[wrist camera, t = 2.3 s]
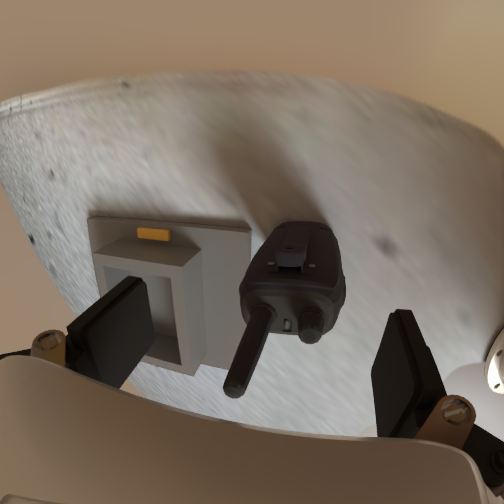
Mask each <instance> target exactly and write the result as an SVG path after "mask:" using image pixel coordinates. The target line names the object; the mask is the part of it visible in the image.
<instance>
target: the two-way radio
mask: <svg viewBox="0 0 504 504" xmlns="http://www.w3.org/2000/svg"><path fill="white" fill-rule="evenodd" d="M239 295H240V307H241V313H242V317H243V319H244V321H245V323H246V324H247V326H246V329H245V331H244V334H243V336H242V338H241V341H240V343H239V346H238V348H237V351H236V353H235V356H234V359H233V361H232V364H231V367H230V369H229V372H228V374H227V377H226V379H225V382H224V385H223V390H224V392H225V394H226V395H227V396H228V397H231V398H239V397H241V396H242V395H244V393H245V391H246V388H247V386H248V384H249V381H250V379H251V377H252V374H253V372H254V370H255V367H256V365H257V362H258V360H259V358H260V355H261V352H262V350H263V347H264V344H265V341H266V339H267V336H268V333H278V334H288V335H299V338H300V340H301V341H302V342H304V343H306V344H314V343H316V342H318V341H319V340H320V339H321V336H322V335H324V334H325V333H327V332H328V331H330V330H331V329H332V328H333V326H334V325H335V323H336V320H337V318H338V315H339V312H340V309H341V307H342V306H343V305H344V301H345V297H346V285H345V276H344V275H343V270H342V263H341V255H340V250H339V246H338V241H337V239H336V237H335V236H334V234H333V233H332V230H331V229H330V228H329V227H327V226H326V225H324V224H321V223H315V222H298V221H296V222H286V223H282V224H281V225H279V226H278V227H276V228H275V230H274V231H273V232H272V233H271V235H270V236H269V237H268V238H267V240H266V241H265V242H264V244H263V245H262V246H261V247H260V249H259V250H258V251H257V253H256V254H255V256H254V257H253V259H252V261H251V263H250V264H249V266H248V269H247V271H246V273H245V276H244V278H243V280H242V282H241V283H240V286H239Z"/></svg>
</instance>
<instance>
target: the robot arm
mask: <svg viewBox="0 0 504 504" xmlns="http://www.w3.org/2000/svg"><path fill="white" fill-rule="evenodd" d="M67 331H68V335H67V336H65V334H64V333H63V332H61V331H60V330H48V331H44V332H42V333H40V334H39V335H38V336H36V338H35V339H34V340H33V343H32V347H31V349H27V350H22V351H17V352H12V353H6V354H2V355H0V504H504V442H503V441H501V440H500V439H498V438H497V437H495V436H493V435H492V434H490V433H489V432H487V431H485V430H484V429H482V428H481V427H479V426H477V425H476V424H474V422H475V418H476V412H475V409H474V407H473V405H472V404H471V403H470V402H469V401H468V400H467V399H465V398H464V397H461V396H459V395H447V394H446V391H445V388H444V385H443V382H442V379H441V376H440V374H439V371H438V368H437V366H436V363H435V361H434V358H433V355H432V353H431V350H430V348H429V347H428V346H426V343H425V341H424V338H423V336H422V333H421V331H420V329H419V326H418V324H417V322H416V319H415V317H414V315H413V313H412V311H411V310H404V309H396V310H395V312H394V313H390V315H389V318H388V321H387V325H386V328H385V331H384V334H383V337H382V340H381V343H380V346H379V349H378V352H377V355H376V358H375V361H374V364H373V366H372V370H371V380H372V388H373V396H374V404H375V414H376V424H377V436H378V437H355V436H338V435H325V434H313V433H303V432H294V431H286V430H279V429H272V428H265V427H259V426H254V425H248V424H243V423H237V422H232V421H228V420H223V419H218V418H214V417H210V416H205V415H201V414H197V413H193V412H190V411H186V410H182V409H179V408H175V407H172V406H168V405H165V404H162V403H158V402H155V401H152V400H149V399H146V398H143V397H140V396H136V395H134V394H131V393H128V392H125V391H123V390H120V389H119V388H120V387H121V386H122V384H123V383H124V382H125V380H126V379H127V378H128V376H129V375H130V374H131V372H132V371H133V370H134V368H135V367H136V366H137V364H138V363H139V362H140V361H141V359H142V358H143V357H144V355H145V354H146V353H147V351H148V350H149V349H150V347H151V346H152V345H153V343H154V341H155V332H154V327H153V321H152V315H151V309H150V303H149V297H148V290H147V284H146V283H145V282H144V281H143V279H142V278H140V277H135V276H127V277H126V278H124V279H123V280H122V281H121V282H119V283H118V284H117V285H116V286H115V287H113V288H112V289H111V290H110V291H108V292H107V293H106V294H105V295H104V296H102V297H101V298H100V299H99V300H98V301H96V302H95V303H94V304H93V305H92V306H90V307H89V308H88V309H87V310H86V311H85V312H83V313H82V314H81V315H80V316H79V317H77V318H76V319H75V320H74V321H73V322H72V323H71V324H70V325H68V326H67ZM484 375H485V379H486V382H487V384H488V386H489V388H490V389H491V390H492V391H494V392H497V393H504V328H503V330H502V331H501V332H500V334H499V335H498V337H497V338H496V340H495V342H494V344H493V346H492V347H491V349H490V352H489V354H488V357H487V359H486V364H485V372H484Z"/></svg>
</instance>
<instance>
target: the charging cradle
mask: <svg viewBox="0 0 504 504" xmlns="http://www.w3.org/2000/svg"><path fill="white" fill-rule="evenodd" d="M87 224H88V232H89V239H90V246H91V252H92V258H93V264H94V269H95V274H96V280H97V284H98V289H99V294H100V298H101V297H102V296H104V295H105V294H106V293H107V292H108V291H110V290H111V289H112V288H113V287H115V286H116V285H117V284H118V283H119V282H121V281H122V280H123V279H124V278H126V277H127V276H135V277H140V278H142V279H143V281H144V282H145V283H146V284H147V290H148V297H149V303H150V309H151V315H152V321H153V327H154V332H155V341H154V343H153V345H152V346H151V347H150V349H149V350H148V351H147V353H146V354H145V355H144V357H143V358H142V359H141V361H142V362H145V363H148V364H151V365H155V366H158V367H161V368H165V369H168V370H172V371H175V372H179V373H183V374H186V375H190V376H194V375H195V373H196V371H197V369H198V368H199V366H200V364H204V365H208V366H213V367H217V368H222V369H227V370H229V369H230V367H231V364H232V361H233V359H234V356H235V353H236V351H237V348H238V346H239V343H240V341H241V338H242V336H243V334H244V331H245V329H246V326H247V324H246V323H245V321H244V319H243V317H242V313H241V307H240V295H239V286H240V283H241V282H242V280H243V278H244V276H245V273H246V271H247V269H248V266H249V264H250V263H251V230H252V229H246V228H236V227H225V226H214V225H203V224H191V223H180V222H168V221H155V220H142V219H129V218H115V217H100V216H92V217H90V218H87Z"/></svg>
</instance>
